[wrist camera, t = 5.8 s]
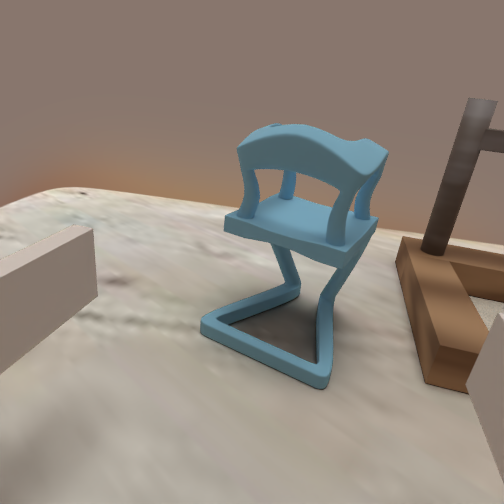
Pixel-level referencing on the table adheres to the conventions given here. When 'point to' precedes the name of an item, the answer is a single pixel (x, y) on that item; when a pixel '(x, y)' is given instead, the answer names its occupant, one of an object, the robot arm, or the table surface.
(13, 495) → the table surface
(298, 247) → the chair
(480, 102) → the wooden post frame
